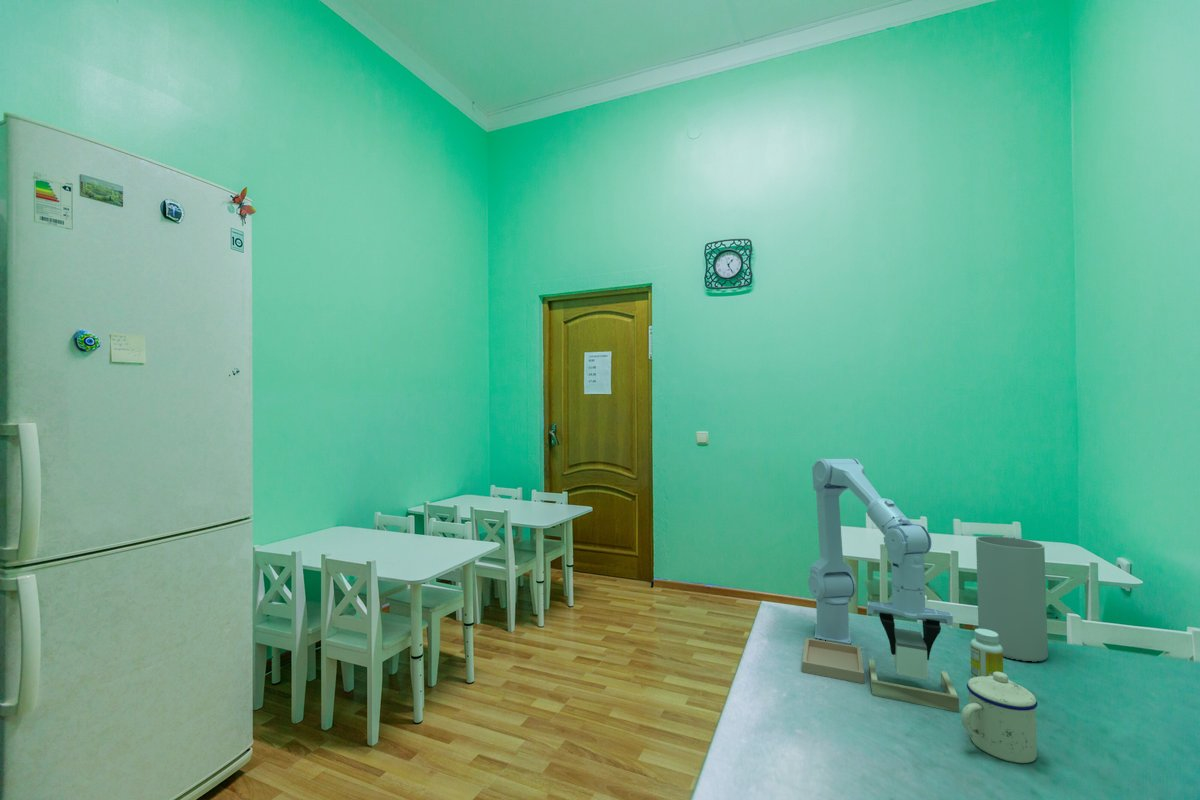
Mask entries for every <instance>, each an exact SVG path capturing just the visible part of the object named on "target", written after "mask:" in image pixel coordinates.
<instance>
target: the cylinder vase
mask: <svg viewBox="0 0 1200 800" xmlns="http://www.w3.org/2000/svg"><path fill="white" fill-rule="evenodd" d="M975 542H976V543H975V545H976V546H975V547H976V548H975V550H976V579H977V581H976V584H977V585H976V586H977V592H976V593H977V615H978V616H977V622H978V624H977V625H978V628H977V629H987V630H991V631H994V632H996V633H997V634H998V635H999V641H998V642H997V643H998V644H1000V645H1001V647H1002V648H1003V658H1005V657H1006V658H1007V659H1009V658H1010V660H1013V659H1016V660H1015V661H1018V660H1022V661H1021V662H1026V661H1032V662H1031V663H1036V662H1037V661H1039V662H1043V661H1045V660H1047V658H1048V655H1049V654H1048V653H1049V652H1048V651H1049V650H1048V645H1049V644H1048V623H1047V622H1048V621H1047V620H1048V619H1047V616H1048V615H1047V614H1048V613H1047V591H1046V588H1047V587H1046V586H1047V585H1046V558H1045V545H1044V544H1042V543H1039V542H1037V541H1032V540H1028V539H1022V538H1015V537H1006V536H996V535H995V536H994V535H993V536H991V535H989V536H987V535H985V536H984V535H983V536H977V537H976V538H975ZM1006 658H1005V659H1006ZM1037 663H1038V662H1037Z"/></svg>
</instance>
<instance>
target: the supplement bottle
mask: <svg viewBox="0 0 1200 800" xmlns="http://www.w3.org/2000/svg"><path fill="white" fill-rule="evenodd" d="M973 634H974V638H973V639H971V641H970V675H971V678H973V677H979V676H985V677H987V676H993V673H994V672H1002V673H1004V657H1003V648H1002V647H1001V645H1000V644H998V643H997V642H998V641H999V635H998V634H997V633H996V632H994V631H991V630H987V629H978V628H975V629H974V633H973Z"/></svg>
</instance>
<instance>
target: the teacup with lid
mask: <svg viewBox="0 0 1200 800" xmlns="http://www.w3.org/2000/svg"><path fill="white" fill-rule="evenodd" d="M966 688H967V690H968V704H966V705H965V706H964V707H963V709H962V711H961V717H960V718H961V723H962V726H963V728H964V729H965V731H966V732H967V733H968V734H969V738H970V740H971V741H972V743H973V744H974V745H975V746H976V747H977V748H978V749H980V750H982V751H983V752H985V753H986V754H988V755H990V756H992V757H996V758H997V759H1001V760H1003V761H1007V762H1013V763H1018V764H1027V763H1029V764H1030V763H1032V762H1034V761H1035V760H1037V757H1038V744H1037V743H1038V742H1037V740H1038V739H1037V712H1036V711H1037V710H1036V708H1037V707H1038V701H1037V699H1036V697H1035V695H1034V694H1033V693H1032V692H1031V691H1030V690H1028V689H1027V688H1026V687H1023V686H1022V685H1019V684H1017V683H1015V682H1014V681H1012V680H1010V679H1009V676H1008V674H1006V673H1004V672H1003V673H1002V672H994V673H993V676H987V677H985V676H979V677H971V678H970V679H968V681H967V683H966Z"/></svg>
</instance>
